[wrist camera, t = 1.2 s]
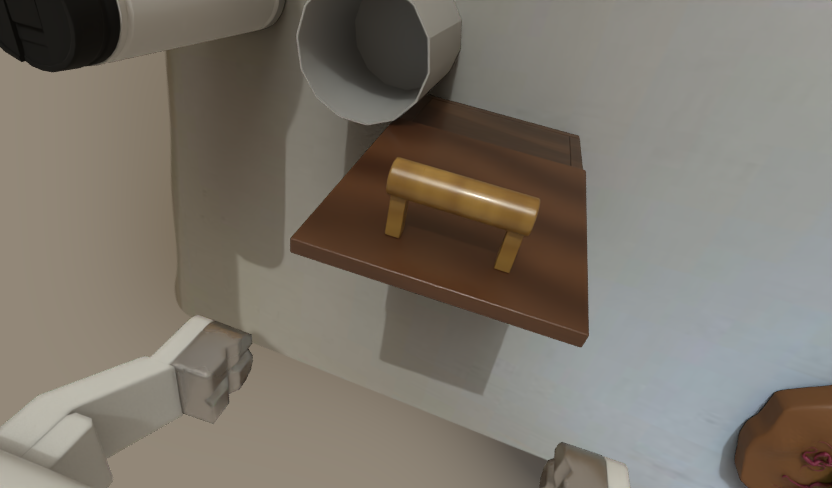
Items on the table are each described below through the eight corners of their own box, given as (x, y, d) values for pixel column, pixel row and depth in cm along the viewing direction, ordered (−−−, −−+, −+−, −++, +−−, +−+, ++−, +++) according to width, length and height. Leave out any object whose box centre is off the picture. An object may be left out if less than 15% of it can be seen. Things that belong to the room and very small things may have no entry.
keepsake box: (524, 272, 44) (517, 326, 37) (397, 232, 45) (369, 277, 39) (579, 135, 36) (583, 172, 30) (425, 93, 38) (397, 119, 31)
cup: (350, 73, 38) (292, 103, 30) (364, -42, 34) (300, -44, 26) (447, 101, 38) (415, 140, 29) (475, -13, 33) (446, -6, 25)
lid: (581, 348, 18) (632, 266, 16) (289, 252, 20) (289, 162, 17) (581, 180, 30) (610, 115, 27) (394, 127, 31) (404, 60, 28)
